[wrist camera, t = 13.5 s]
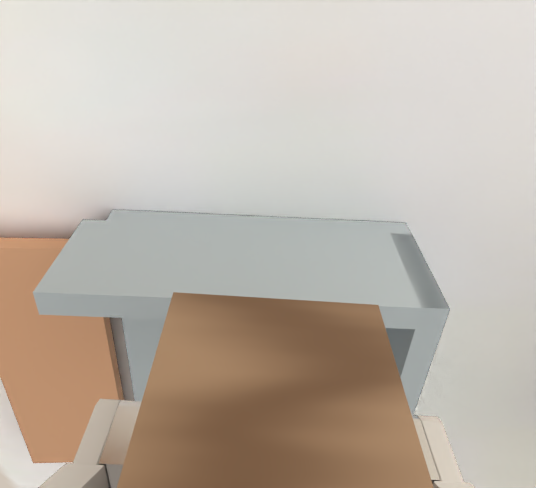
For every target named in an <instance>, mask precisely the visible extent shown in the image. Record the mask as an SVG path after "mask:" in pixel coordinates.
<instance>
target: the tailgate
mask: <svg viewBox="0 0 536 488" xmlns="http://www.w3.org/2000/svg"><path fill="white" fill-rule="evenodd" d="M68 240H69V239H58V238H0V377H1V380H2V382H3V385H4V388H5V390H6V393H7V396H8V398H9V401H10V403H11V406H12V409H13V411H14V414H15V417H16V419H17V422H18V424H19V427H20V430H21V432H22V435H23V437H24V440H25V443H26V445H27V448H28V451H29V453H30V456H31V458H32V461H33V463H58V462H73V461H74V458H75V456H76V453H77V451H78V448H79V445H80V443H81V440H82V438H83V435H84V433H85V430H86V428H87V425H88V423H89V420H90V417H91V415H92V412H93V410H94V407H95V405H96V404H97V402H98V401H99V399H114V400H124V397H123V392H122V386H121V380H120V375H119V369H118V363H117V358H116V352H115V346H114V341H113V335H112V330H111V324H110V318H109V317H88V316H63V315H39V312H38V309H37V305H36V302H35V298H34V295H33V291H34V290H35V288H36V287H37V285H38V284H39V282H40V281H41V280H42V278H43V277H44V275H45V274H46V272H47V271H48V269H49V268H50V266H51V265H52V263H53V262H54V261H55V259H56V258H57V256H58V255H59V253H60V252H61V250H62V249H63V247H64V246H65V245H66V243H67V242H68Z"/></svg>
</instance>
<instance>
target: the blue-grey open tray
mask: <svg viewBox="0 0 536 488" xmlns="http://www.w3.org/2000/svg"><path fill="white" fill-rule="evenodd" d="M173 292H178V293H195V294H211V295H227V296H243V297H259V298H276V299H292V300H308V301H324V302H341V303H357V304H373V305H379V309H380V312H381V315H382V319H383V322H384V325H385V328H386V332H387V335H388V338H389V342H390V345H391V348H392V352H393V355H394V358H395V362H396V365H397V368H398V372H399V375H400V378H401V381H402V385H403V388H404V391H405V395H406V398H407V401H408V405H409V408H410V411H411V415H413V414H414V411H415V408H416V405H417V403H418V400H419V397H420V394H421V391H422V388H423V385H424V382H425V380H426V377H427V374H428V371H429V368H430V365H431V362H432V360H433V357H434V354H435V351H436V348H437V345H438V342H439V339H440V337H441V334H442V331H443V328H444V325H445V322H446V319H447V316H448V314H449V311H450V308H449V306H448V304H447V302H446V300H445V298H444V296H443V294H442V292H441V290H440V288H439V286H438V284H437V282H436V280H435V278H434V276H433V274H432V272H431V271H430V269H429V267H428V265H427V263H426V261H425V259H424V257H423V255H422V253H421V251H420V249H419V247H418V245H417V243H416V241H415V239H414V237H413V235H412V233H411V231H410V229H409V227H408V225H407V223H400V222H378V221H356V220H335V219H313V218H291V217H269V216H247V215H225V214H203V213H181V212H159V211H138V210H116V209H113V210H112V212H111V213H110V215H109V217H108V218H107V220H86V219H83V220H82V221H81V223H80V224H79V226H78V227H77V229H76V230H75V231H74V233H73V234H72V236H71V237H70V239H69V240H68V242H67V243H66V245H65V246H64V247H63V249H62V250H61V252H60V253H59V255H58V256H57V258H56V259H55V261H54V262H53V263H52V265H51V266H50V268H49V269H48V271H47V272H46V274H45V275H44V277H43V278H42V280H41V281H40V282H39V284H38V285H37V287H36V288H35V290H34V291H33V295H34V298H35V302H36V305H37V309H38V312H39V315H63V316H88V317H114V318H122V323H123V330H124V336H125V342H126V349H127V355H128V361H129V368H130V374H131V380H132V387H133V393H134V399H135V401H141V402H142V399H143V395H144V392H145V388H146V385H147V381H148V378H149V374H150V371H151V367H152V364H153V361H154V357H155V354H156V350H157V347H158V343H159V340H160V336H161V333H162V329H163V326H164V323H165V319H166V316H167V312H168V309H169V305H170V302H171V298H172V295H173Z"/></svg>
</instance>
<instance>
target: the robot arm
mask: <svg viewBox="0 0 536 488" xmlns="http://www.w3.org/2000/svg"><path fill="white" fill-rule="evenodd" d="M140 405H141V401H127V400H114V399H99V401H98V402H97V404H96V405H95V407H94V410H93V412H92V415H91V417H90V420H89V423H88V425H87V428H86V430H85V433H84V435H83V438H82V440H81V443H80V445H79V448H78V451H77V453H76V456H75V458H74V461H73V463H66V464H65V465H63V466H62V467H61V468H60V469H59V470H58V471H57V472H55V473H54V474H53V475H52V476H51V477H50V478H49V479H48V480H46V481H45V482H44V483H43V484H42V485H41V486H40V487H38V488H117V485H118V481H119V478H120V475H121V471H122V468H123V464H124V461H125V457H126V454H127V450H128V447H129V443H130V440H131V437H132V433H133V430H134V426H135V423H136V419H137V416H138V412H139V409H140ZM412 418H413V421H414V425H415V428H416V431H417V435H418V438H419V441H420V444H421V448H422V451H423V454H424V458H425V461H426V464H427V468H428V471H429V474H430V478H431V481H432V484H433V488H475V487H474V486H473V485H472V484H471V483H467V482H464V480H463V477H462V475H461V472H460V469H459V466H458V464H457V461H456V458H455V456H454V453H453V450H452V447H451V445H450V442H449V439H448V437H447V434H446V431H445V428H444V426H443V423H442V421H441V420H440V418H439V417H436V416H416V415H412Z"/></svg>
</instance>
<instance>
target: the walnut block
mask: <svg viewBox="0 0 536 488" xmlns="http://www.w3.org/2000/svg"><path fill="white" fill-rule="evenodd" d="M117 488H433V484H432V481H431V478H430V474H429V471H428V468H427V464H426V461H425V458H424V454H423V451H422V448H421V444H420V441H419V438H418V435H417V431H416V428H415V425H414V421H413V418H412V415H411V411H410V408H409V405H408V401H407V398H406V395H405V391H404V388H403V385H402V381H401V378H400V375H399V372H398V368H397V365H396V362H395V358H394V355H393V352H392V348H391V345H390V342H389V338H388V335H387V332H386V328H385V325H384V322H383V319H382V315H381V312H380V309H379V305H373V304H357V303H341V302H324V301H308V300H292V299H276V298H259V297H243V296H227V295H211V294H195V293H178V292H173V295H172V298H171V302H170V305H169V309H168V312H167V316H166V319H165V323H164V326H163V329H162V333H161V336H160V340H159V343H158V347H157V350H156V354H155V357H154V361H153V364H152V367H151V371H150V374H149V378H148V381H147V385H146V388H145V392H144V395H143V399H142V402H141V405H140V409H139V412H138V416H137V419H136V423H135V426H134V430H133V433H132V437H131V440H130V443H129V447H128V450H127V454H126V457H125V461H124V464H123V468H122V471H121V475H120V478H119V481H118V485H117Z"/></svg>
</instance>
